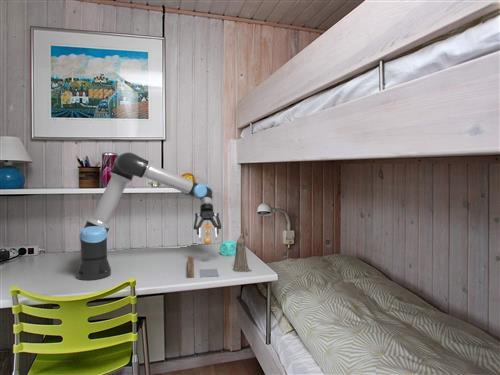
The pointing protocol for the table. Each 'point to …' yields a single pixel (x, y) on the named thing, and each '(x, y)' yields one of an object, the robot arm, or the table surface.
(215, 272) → the mat
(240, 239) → the wizard figurine
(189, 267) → the walnut rail
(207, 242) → the figurine
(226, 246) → the decorative dice
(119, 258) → the table surface
